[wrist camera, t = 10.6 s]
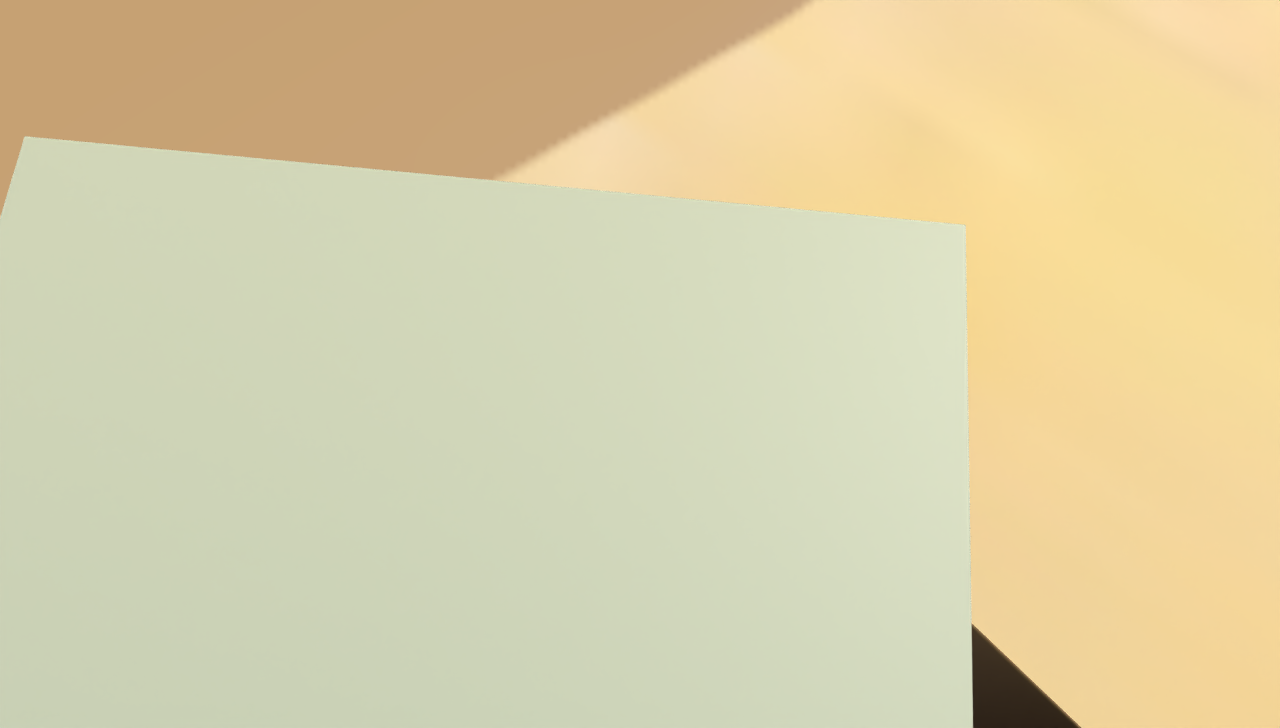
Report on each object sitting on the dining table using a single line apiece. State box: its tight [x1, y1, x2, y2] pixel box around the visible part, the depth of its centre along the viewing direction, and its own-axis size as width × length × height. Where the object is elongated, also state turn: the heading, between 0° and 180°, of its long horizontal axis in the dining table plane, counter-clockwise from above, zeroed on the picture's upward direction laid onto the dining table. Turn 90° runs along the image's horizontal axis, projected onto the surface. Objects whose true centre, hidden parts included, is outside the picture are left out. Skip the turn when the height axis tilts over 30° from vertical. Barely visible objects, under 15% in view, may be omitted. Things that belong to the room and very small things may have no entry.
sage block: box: [0, 137, 973, 728], centre depth 10 cm, size 5×5×11 cm
